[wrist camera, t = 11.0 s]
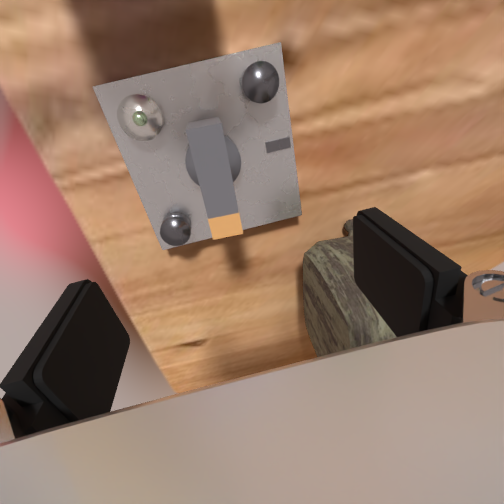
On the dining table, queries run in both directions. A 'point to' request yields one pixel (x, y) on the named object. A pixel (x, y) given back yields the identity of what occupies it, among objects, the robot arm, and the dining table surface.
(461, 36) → the dining table surface
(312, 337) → the tabletop clock
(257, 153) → the levelling base
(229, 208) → the knob
